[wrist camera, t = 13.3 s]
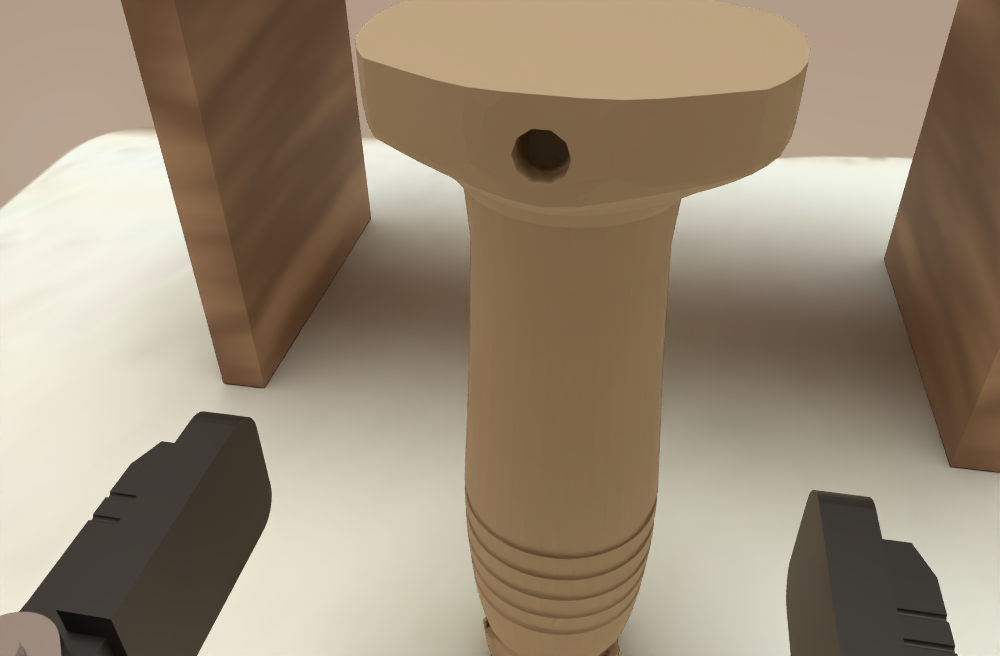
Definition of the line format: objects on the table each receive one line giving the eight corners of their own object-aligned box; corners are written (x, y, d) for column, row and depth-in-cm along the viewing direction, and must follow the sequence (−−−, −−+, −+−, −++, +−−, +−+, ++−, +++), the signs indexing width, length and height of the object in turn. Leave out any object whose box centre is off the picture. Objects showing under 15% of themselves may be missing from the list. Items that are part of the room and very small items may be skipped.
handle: (458, 544, 24) (421, -22, 15) (693, 591, 23) (806, -2, 14) (398, 703, 20) (301, 74, 11) (676, 772, 19) (816, 117, 10)
